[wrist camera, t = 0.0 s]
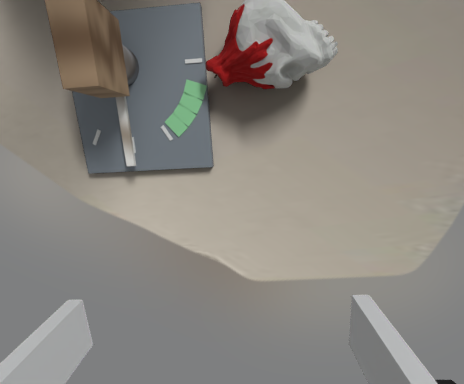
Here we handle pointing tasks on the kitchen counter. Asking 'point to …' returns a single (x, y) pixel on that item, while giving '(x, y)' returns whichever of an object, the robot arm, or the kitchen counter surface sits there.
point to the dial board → (154, 96)
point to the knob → (94, 56)
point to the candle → (271, 46)
